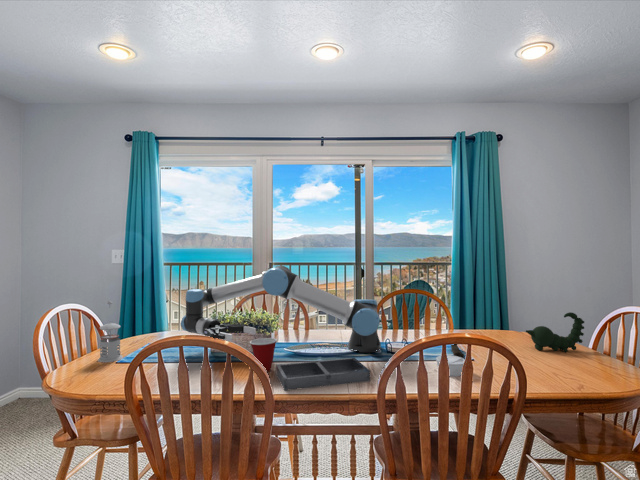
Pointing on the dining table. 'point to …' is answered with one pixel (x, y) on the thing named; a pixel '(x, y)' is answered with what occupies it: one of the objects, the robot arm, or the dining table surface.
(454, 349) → the hand tool
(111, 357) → the french press
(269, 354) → the plastic cup
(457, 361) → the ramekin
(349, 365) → the tray
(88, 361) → the dining table surface
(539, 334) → the toy figurine
